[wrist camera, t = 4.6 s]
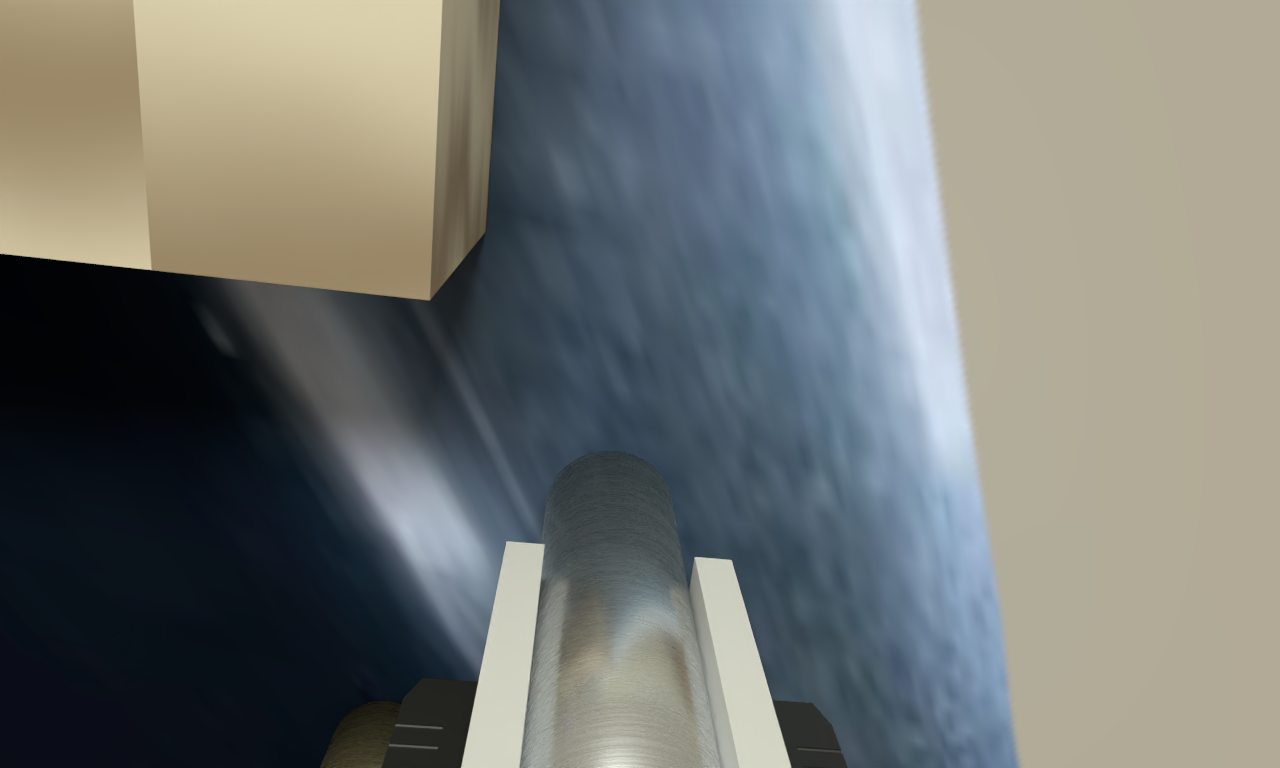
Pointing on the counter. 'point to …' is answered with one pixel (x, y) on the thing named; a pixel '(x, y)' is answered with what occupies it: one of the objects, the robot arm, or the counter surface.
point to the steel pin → (615, 628)
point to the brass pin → (363, 736)
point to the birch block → (250, 137)
